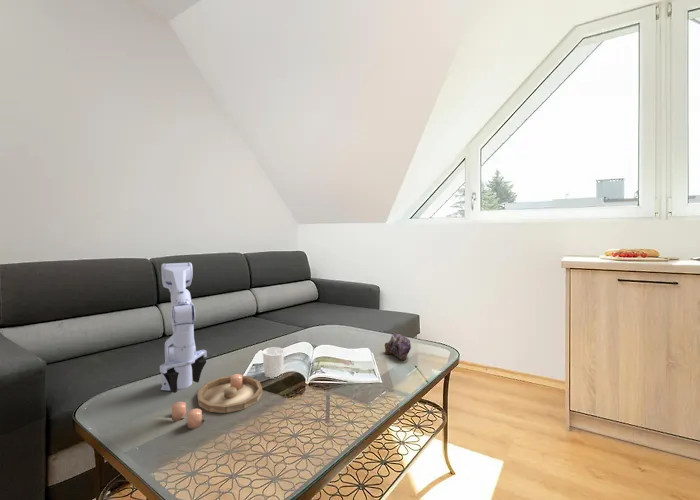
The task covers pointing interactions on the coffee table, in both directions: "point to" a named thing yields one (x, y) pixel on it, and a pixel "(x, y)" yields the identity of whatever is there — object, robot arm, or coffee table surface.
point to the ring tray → (220, 398)
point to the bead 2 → (194, 418)
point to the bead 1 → (178, 411)
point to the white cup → (273, 361)
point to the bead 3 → (236, 381)
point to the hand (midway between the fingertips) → (185, 386)
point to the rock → (398, 346)
